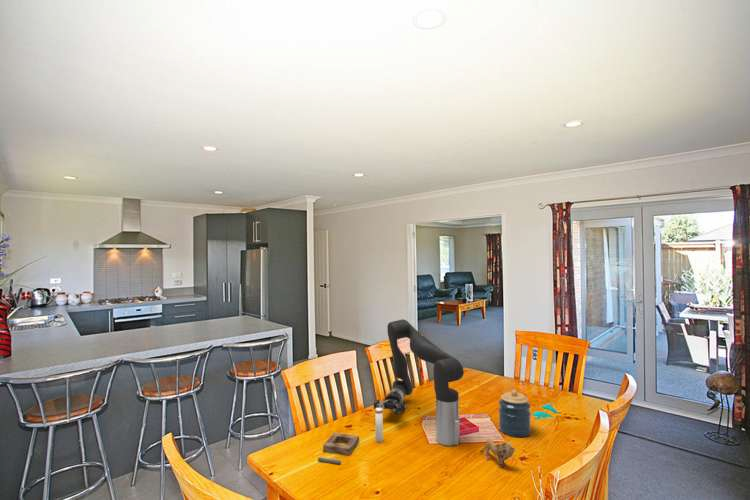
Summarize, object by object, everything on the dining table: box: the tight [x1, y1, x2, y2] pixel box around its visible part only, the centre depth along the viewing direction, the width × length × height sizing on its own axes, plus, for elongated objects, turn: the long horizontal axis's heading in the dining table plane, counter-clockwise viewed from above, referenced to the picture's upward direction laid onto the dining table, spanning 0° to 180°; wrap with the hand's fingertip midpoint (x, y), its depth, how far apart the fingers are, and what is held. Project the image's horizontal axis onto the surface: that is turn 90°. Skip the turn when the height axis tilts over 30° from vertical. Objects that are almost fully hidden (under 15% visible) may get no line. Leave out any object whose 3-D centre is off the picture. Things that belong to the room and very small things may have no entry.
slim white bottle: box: [374, 408, 384, 443], centre depth 158 cm, size 3×3×13 cm
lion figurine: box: [480, 438, 516, 469], centre depth 141 cm, size 15×5×9 cm, turn 35°
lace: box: [317, 456, 342, 465], centre depth 141 cm, size 9×1×1 cm, turn 73°
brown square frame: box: [322, 432, 360, 456], centre depth 153 cm, size 11×11×2 cm
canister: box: [498, 389, 532, 438], centre depth 166 cm, size 13×13×18 cm
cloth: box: [531, 402, 559, 420], centre depth 185 cm, size 26×14×2 cm, turn 123°
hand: (385, 412), depth 168 cm, fingers open, 8 cm apart
